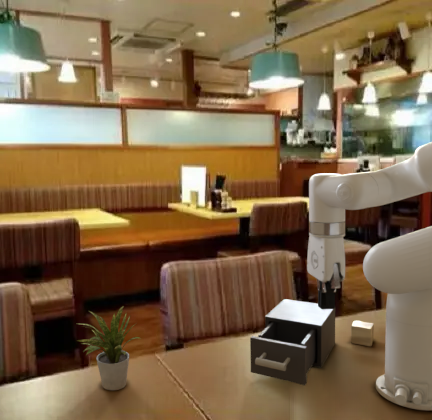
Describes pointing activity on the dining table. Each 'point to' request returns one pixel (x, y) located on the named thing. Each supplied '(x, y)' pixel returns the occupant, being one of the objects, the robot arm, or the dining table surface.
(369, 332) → the cube
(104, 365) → the house plant
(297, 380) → the pull-out drawer
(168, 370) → the dining table surface
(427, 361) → the robot arm
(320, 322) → the drawer cabinet
